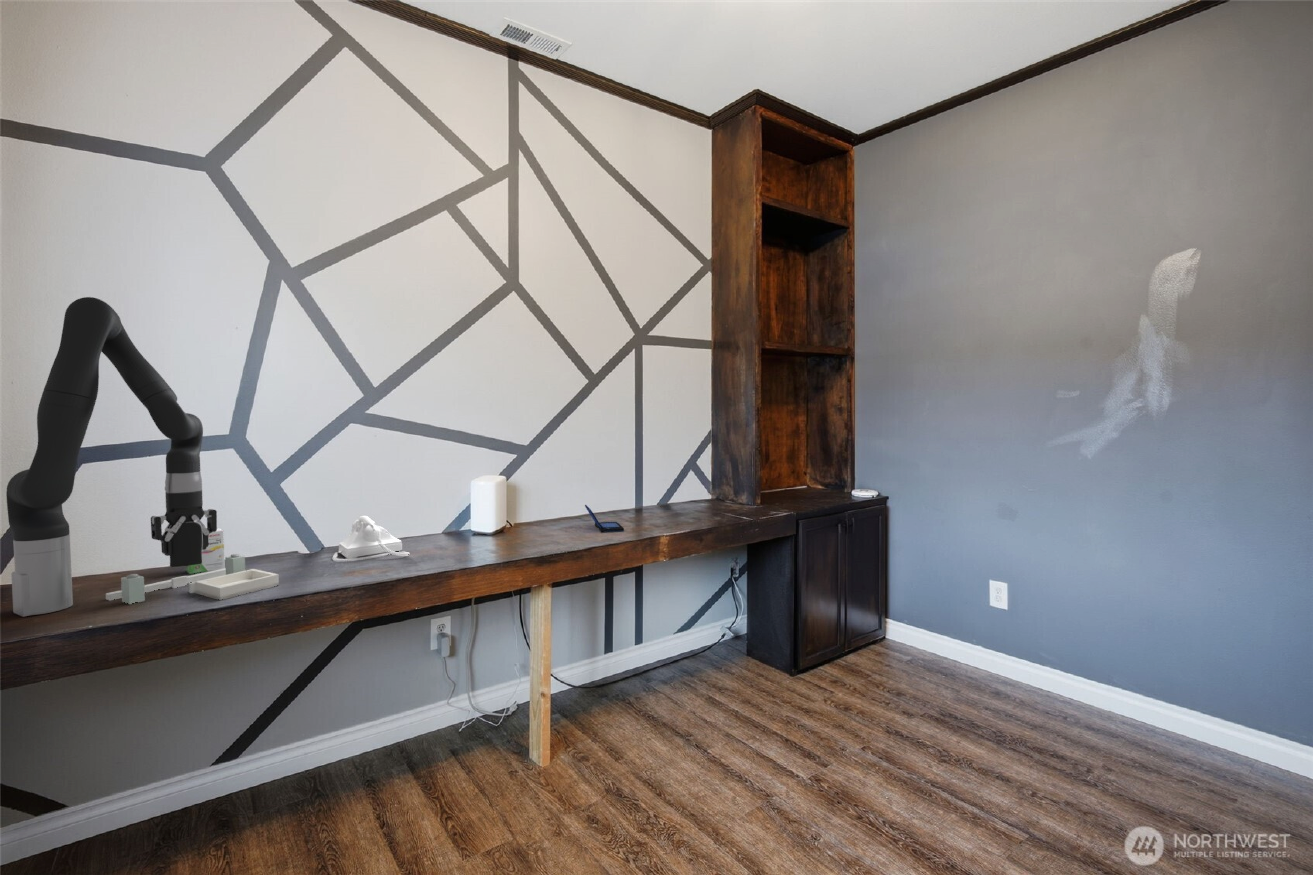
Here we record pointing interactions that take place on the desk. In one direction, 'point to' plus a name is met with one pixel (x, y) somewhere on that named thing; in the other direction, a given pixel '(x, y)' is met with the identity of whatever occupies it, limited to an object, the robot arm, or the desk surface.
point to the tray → (236, 584)
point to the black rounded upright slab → (187, 545)
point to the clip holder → (171, 581)
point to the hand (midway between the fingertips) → (185, 552)
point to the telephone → (368, 542)
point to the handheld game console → (605, 524)
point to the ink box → (211, 554)
